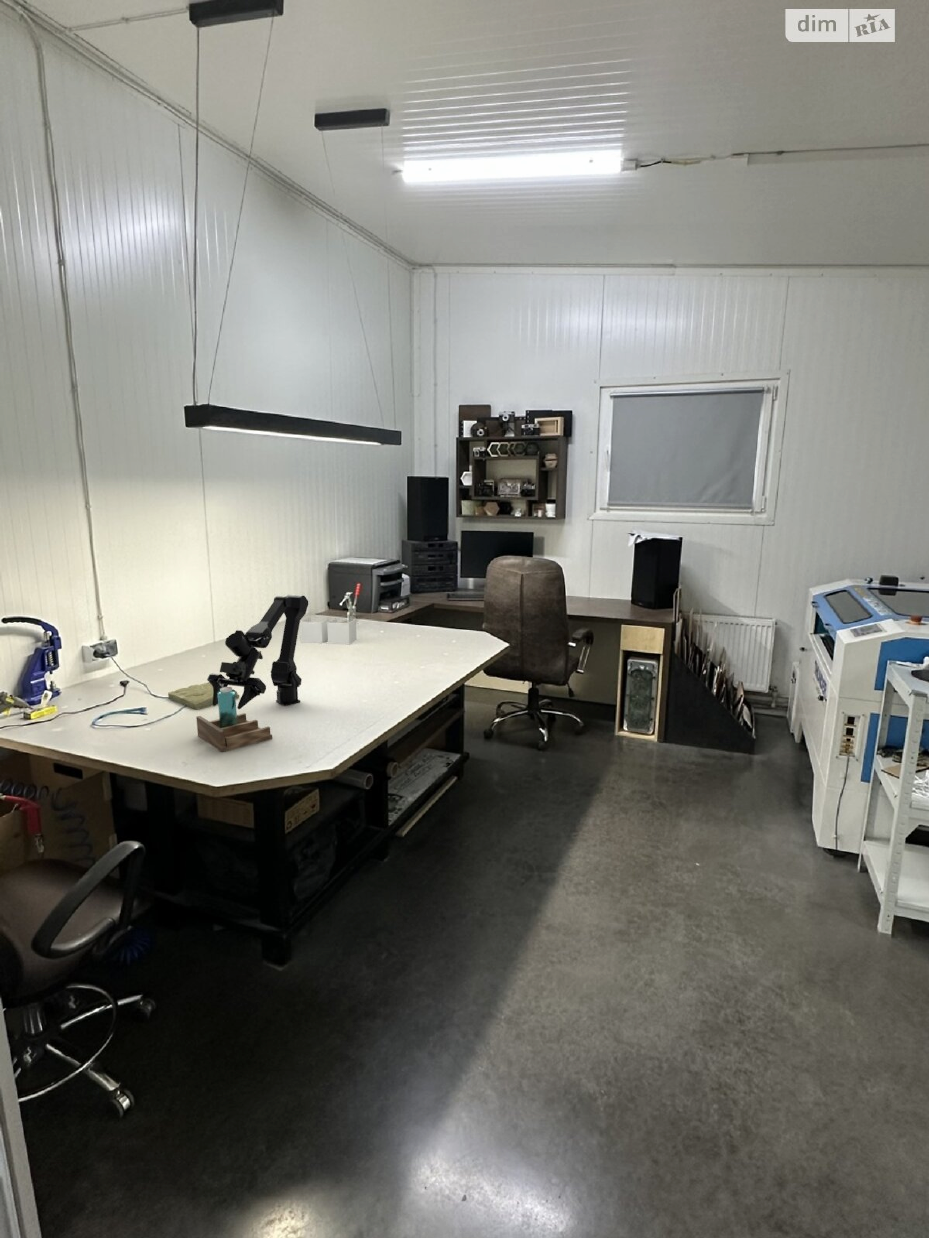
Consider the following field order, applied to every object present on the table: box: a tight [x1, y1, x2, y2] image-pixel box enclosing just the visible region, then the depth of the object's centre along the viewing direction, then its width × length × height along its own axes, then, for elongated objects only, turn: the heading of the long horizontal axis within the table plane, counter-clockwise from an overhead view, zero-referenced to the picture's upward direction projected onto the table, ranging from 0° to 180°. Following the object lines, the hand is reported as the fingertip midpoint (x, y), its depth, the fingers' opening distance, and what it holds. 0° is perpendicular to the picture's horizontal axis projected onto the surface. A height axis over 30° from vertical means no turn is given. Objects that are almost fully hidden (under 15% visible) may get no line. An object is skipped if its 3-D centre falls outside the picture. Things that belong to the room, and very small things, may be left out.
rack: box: [196, 713, 273, 753], centre depth 208 cm, size 16×18×6 cm
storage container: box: [299, 616, 357, 646], centre depth 336 cm, size 25×11×11 cm, turn 80°
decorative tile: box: [167, 681, 240, 710], centre depth 247 cm, size 19×20×4 cm
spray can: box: [217, 686, 238, 728], centre depth 211 cm, size 5×5×14 cm
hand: (225, 707), depth 210 cm, fingers open, 9 cm apart
